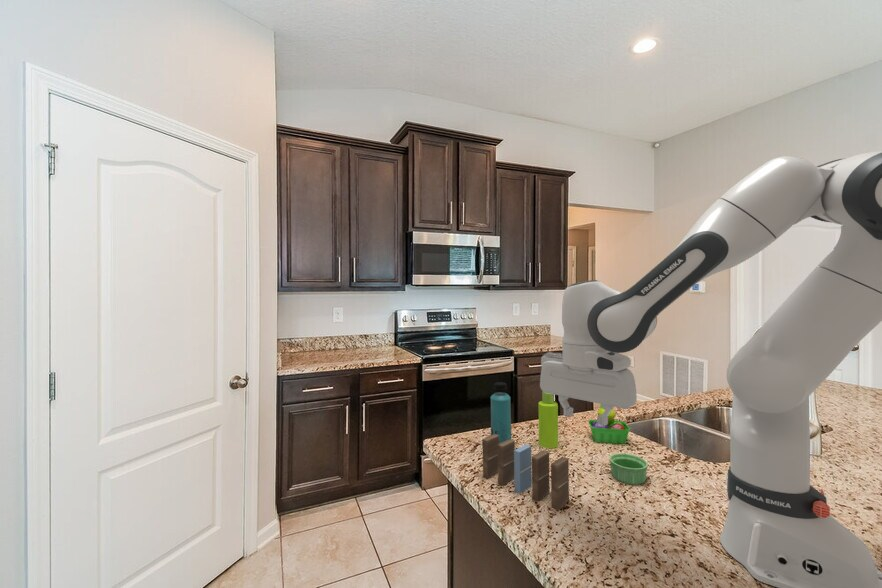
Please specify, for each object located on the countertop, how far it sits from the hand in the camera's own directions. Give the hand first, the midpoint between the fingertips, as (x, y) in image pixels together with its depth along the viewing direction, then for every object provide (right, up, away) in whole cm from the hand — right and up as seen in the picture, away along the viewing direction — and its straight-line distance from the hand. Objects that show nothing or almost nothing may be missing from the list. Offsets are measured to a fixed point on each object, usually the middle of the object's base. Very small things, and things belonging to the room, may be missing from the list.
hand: (585, 420), depth 82 cm
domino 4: (-7, -21, +8) cm, 24 cm away
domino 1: (-18, -21, +19) cm, 33 cm away
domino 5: (-4, -21, +5) cm, 22 cm away
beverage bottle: (-12, -21, +37) cm, 44 cm away
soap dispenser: (+3, -20, +38) cm, 43 cm away
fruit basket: (+23, -20, +41) cm, 52 cm away
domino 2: (-14, -21, +16) cm, 30 cm away
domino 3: (-11, -21, +12) cm, 26 cm away
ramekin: (+18, -21, +17) cm, 32 cm away
